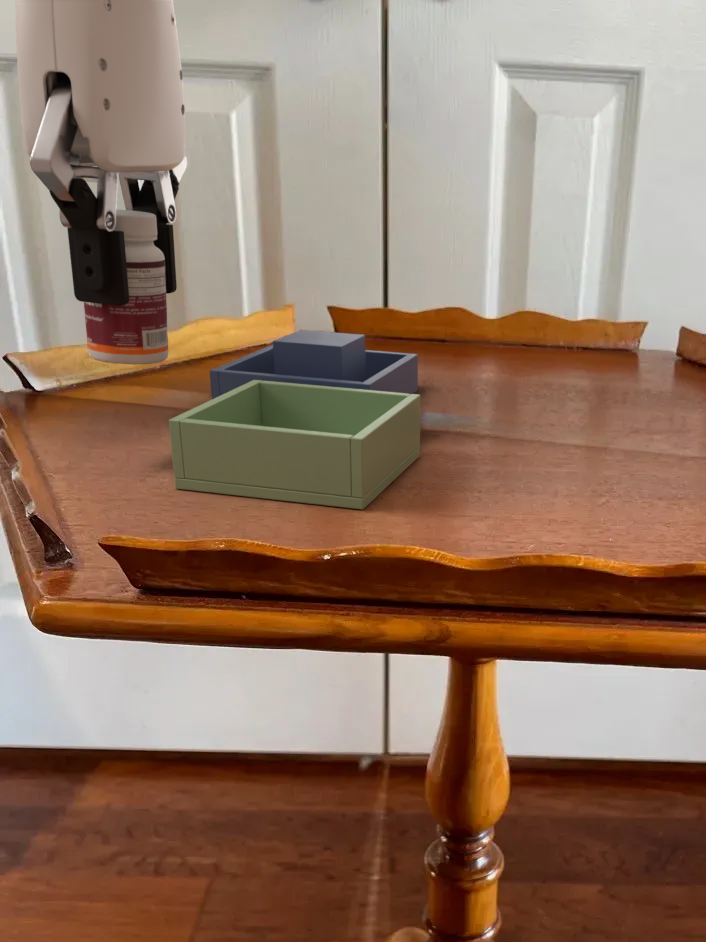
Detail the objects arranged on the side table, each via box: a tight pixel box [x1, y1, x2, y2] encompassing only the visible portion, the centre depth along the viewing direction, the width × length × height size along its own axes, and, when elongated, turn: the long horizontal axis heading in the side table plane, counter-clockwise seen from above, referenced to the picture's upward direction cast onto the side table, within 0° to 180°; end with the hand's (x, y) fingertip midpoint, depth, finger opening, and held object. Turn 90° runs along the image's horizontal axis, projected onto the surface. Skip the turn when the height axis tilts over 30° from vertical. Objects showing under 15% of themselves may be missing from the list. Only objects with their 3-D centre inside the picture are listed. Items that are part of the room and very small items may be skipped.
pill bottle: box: [83, 208, 169, 365], centre depth 62 cm, size 5×5×8 cm
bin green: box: [168, 380, 422, 510], centre depth 55 cm, size 10×10×4 cm
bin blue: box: [209, 344, 419, 400], centre depth 66 cm, size 10×10×4 cm
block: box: [272, 329, 366, 382], centre depth 66 cm, size 4×4×4 cm
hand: (127, 293), depth 62 cm, fingers closed on pill bottle, 4 cm apart
